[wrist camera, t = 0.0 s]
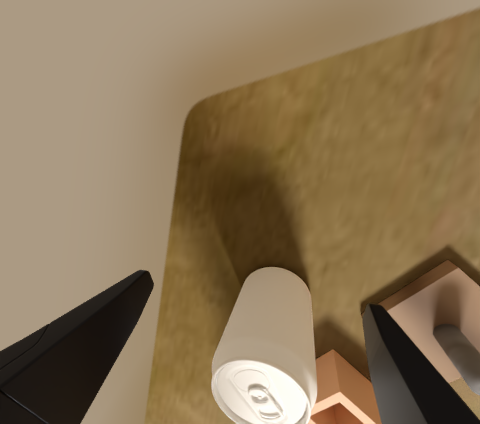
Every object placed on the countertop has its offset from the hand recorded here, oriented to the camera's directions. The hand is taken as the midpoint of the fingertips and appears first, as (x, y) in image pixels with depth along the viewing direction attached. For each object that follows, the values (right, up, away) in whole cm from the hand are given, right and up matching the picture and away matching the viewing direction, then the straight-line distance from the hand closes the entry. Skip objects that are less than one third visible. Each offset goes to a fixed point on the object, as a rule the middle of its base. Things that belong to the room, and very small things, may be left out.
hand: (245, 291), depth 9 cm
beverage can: (+4, -7, +18) cm, 19 cm away
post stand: (+20, -8, +14) cm, 26 cm away
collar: (+12, -18, +19) cm, 28 cm away
